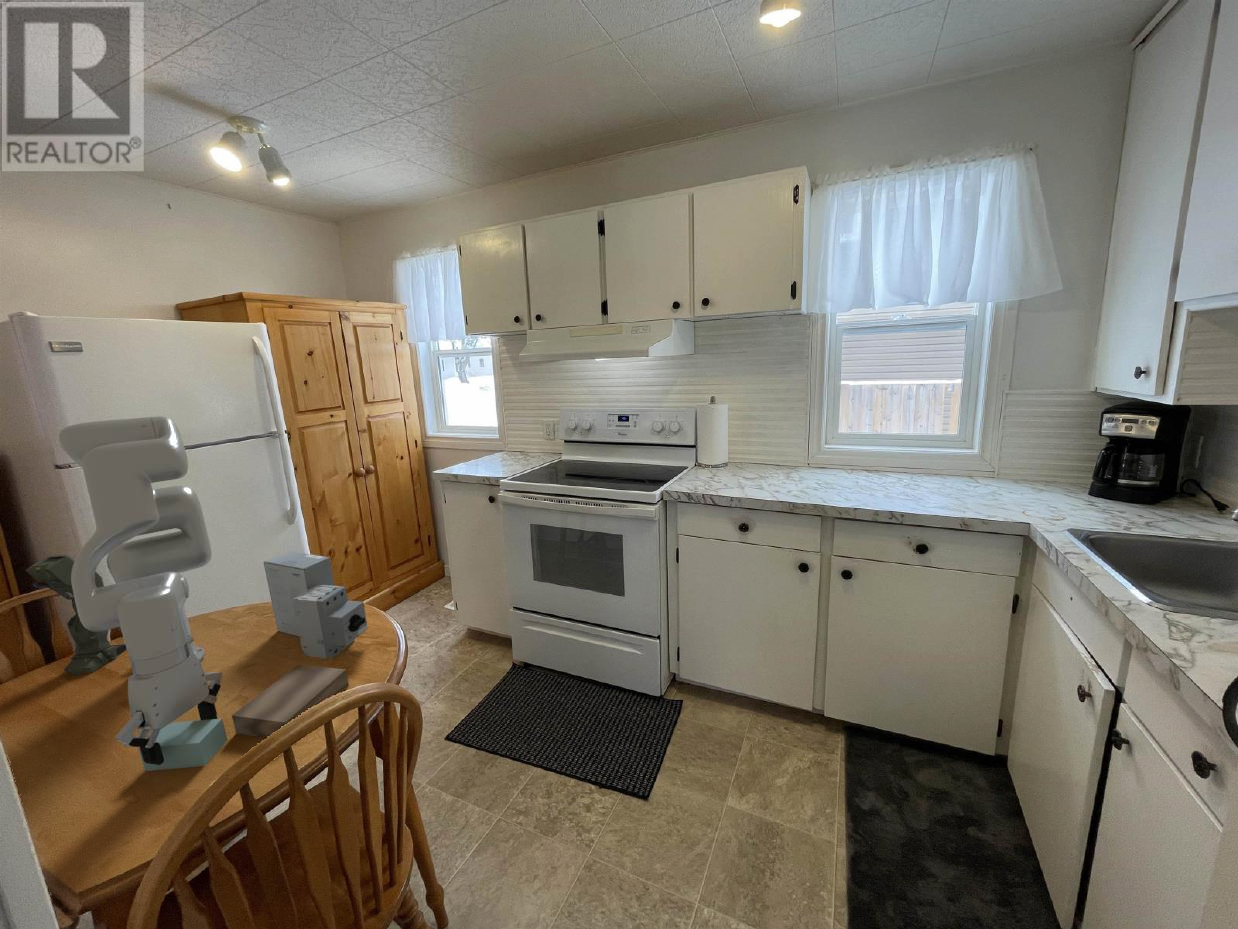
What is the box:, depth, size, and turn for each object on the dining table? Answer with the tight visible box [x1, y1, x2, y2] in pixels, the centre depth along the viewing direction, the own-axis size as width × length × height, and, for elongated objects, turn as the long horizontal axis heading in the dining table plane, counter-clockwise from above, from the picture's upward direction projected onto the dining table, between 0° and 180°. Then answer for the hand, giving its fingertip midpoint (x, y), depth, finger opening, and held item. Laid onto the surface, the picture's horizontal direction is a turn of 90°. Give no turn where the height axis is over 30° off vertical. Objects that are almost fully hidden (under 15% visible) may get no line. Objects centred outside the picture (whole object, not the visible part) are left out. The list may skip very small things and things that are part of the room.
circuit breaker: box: [293, 585, 369, 659], centre depth 122 cm, size 8×14×15 cm, turn 78°
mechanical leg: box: [25, 554, 127, 676], centre depth 118 cm, size 14×7×30 cm, turn 5°
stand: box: [231, 664, 350, 738], centre depth 103 cm, size 12×16×4 cm
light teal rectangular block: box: [137, 718, 228, 772], centre depth 92 cm, size 10×6×5 cm, turn 95°
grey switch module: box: [263, 551, 336, 638], centre depth 131 cm, size 16×8×20 cm, turn 68°
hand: (184, 741), depth 91 cm, fingers open, 9 cm apart
